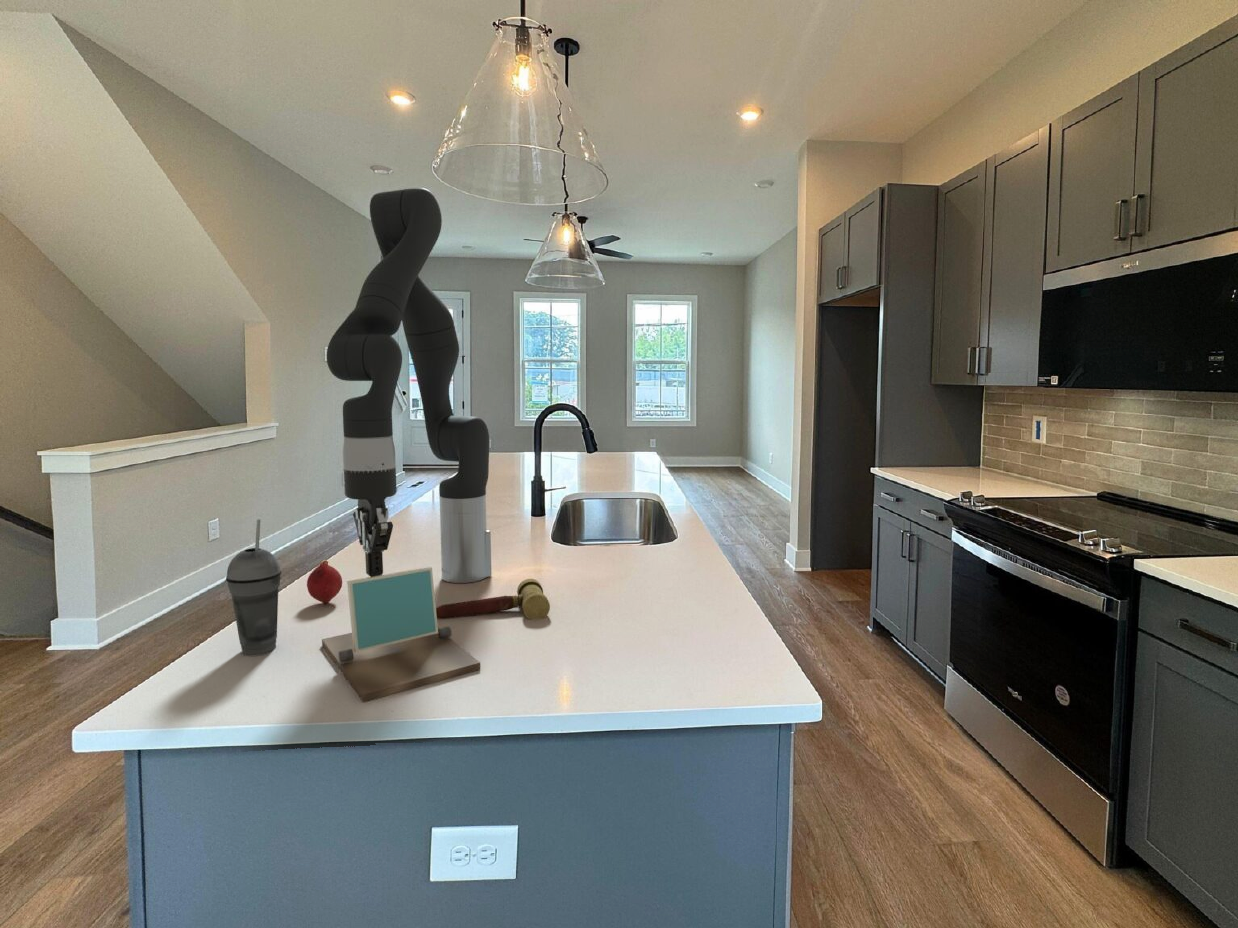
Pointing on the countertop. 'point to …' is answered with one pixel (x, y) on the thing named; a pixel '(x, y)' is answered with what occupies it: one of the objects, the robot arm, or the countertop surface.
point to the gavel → (502, 603)
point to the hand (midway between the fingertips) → (374, 574)
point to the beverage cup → (255, 597)
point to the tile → (392, 608)
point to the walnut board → (399, 663)
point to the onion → (324, 582)
